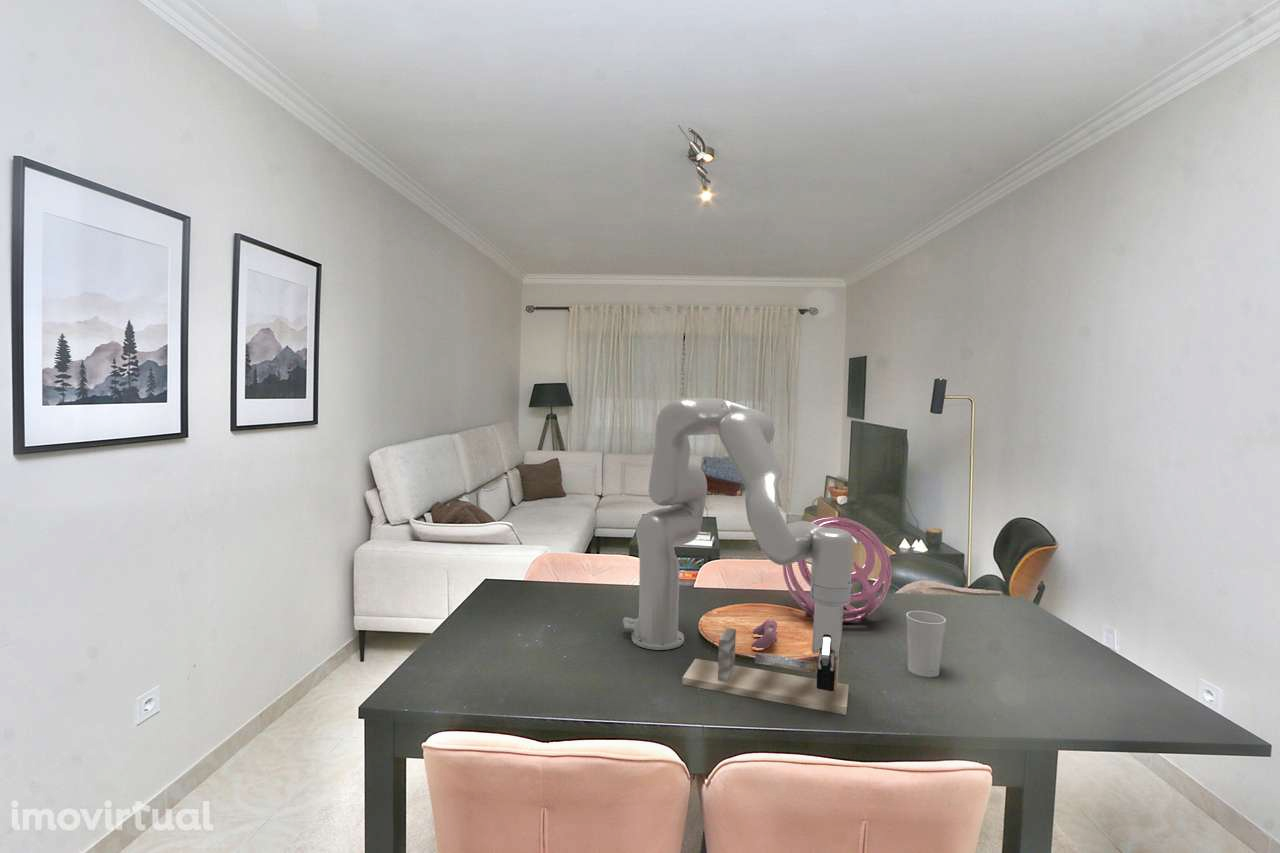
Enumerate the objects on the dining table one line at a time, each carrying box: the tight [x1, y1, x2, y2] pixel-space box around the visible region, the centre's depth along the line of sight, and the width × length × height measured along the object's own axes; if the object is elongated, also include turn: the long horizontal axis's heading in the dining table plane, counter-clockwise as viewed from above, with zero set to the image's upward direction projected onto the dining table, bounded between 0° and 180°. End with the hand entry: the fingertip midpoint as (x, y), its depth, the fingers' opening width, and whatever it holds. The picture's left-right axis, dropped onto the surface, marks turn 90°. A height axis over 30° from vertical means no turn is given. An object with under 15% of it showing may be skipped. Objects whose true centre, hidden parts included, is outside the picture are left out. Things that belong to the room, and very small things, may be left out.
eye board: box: [681, 627, 850, 716], centre depth 130 cm, size 32×10×10 cm, turn 70°
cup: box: [905, 610, 947, 678], centre depth 140 cm, size 8×8×12 cm
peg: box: [754, 651, 840, 691], centre depth 128 cm, size 16×4×6 cm, turn 70°
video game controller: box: [751, 618, 778, 649], centre depth 153 cm, size 10×5×7 cm, turn 169°
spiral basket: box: [782, 516, 893, 624], centre depth 174 cm, size 28×28×27 cm
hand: (826, 679), depth 126 cm, fingers open, 8 cm apart
